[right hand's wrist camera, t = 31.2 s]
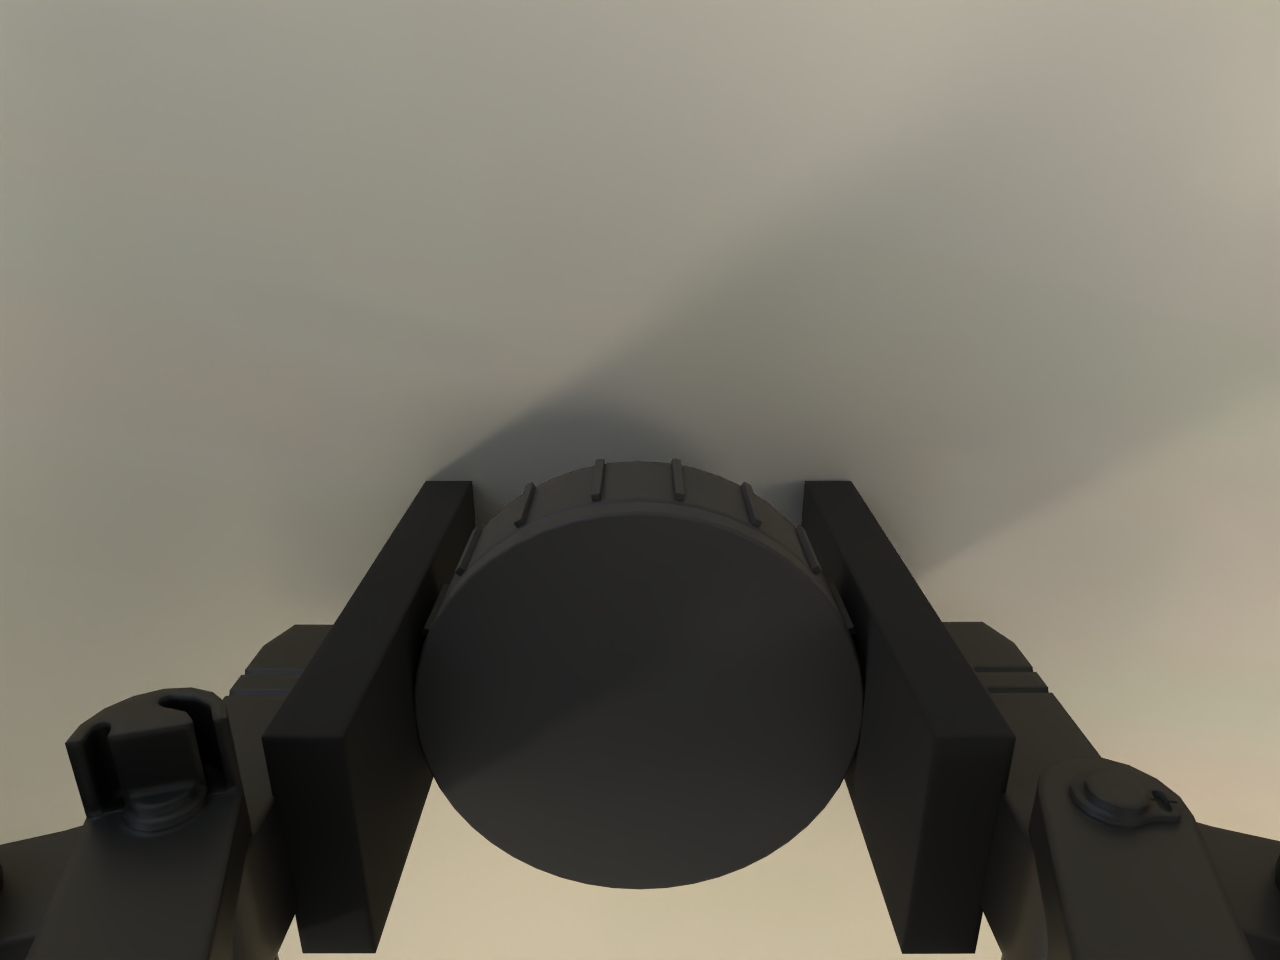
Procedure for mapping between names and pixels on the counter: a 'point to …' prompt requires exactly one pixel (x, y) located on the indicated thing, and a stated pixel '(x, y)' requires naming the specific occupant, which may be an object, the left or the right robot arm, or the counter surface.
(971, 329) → the counter surface
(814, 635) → the lid
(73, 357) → the counter surface
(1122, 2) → the counter surface
